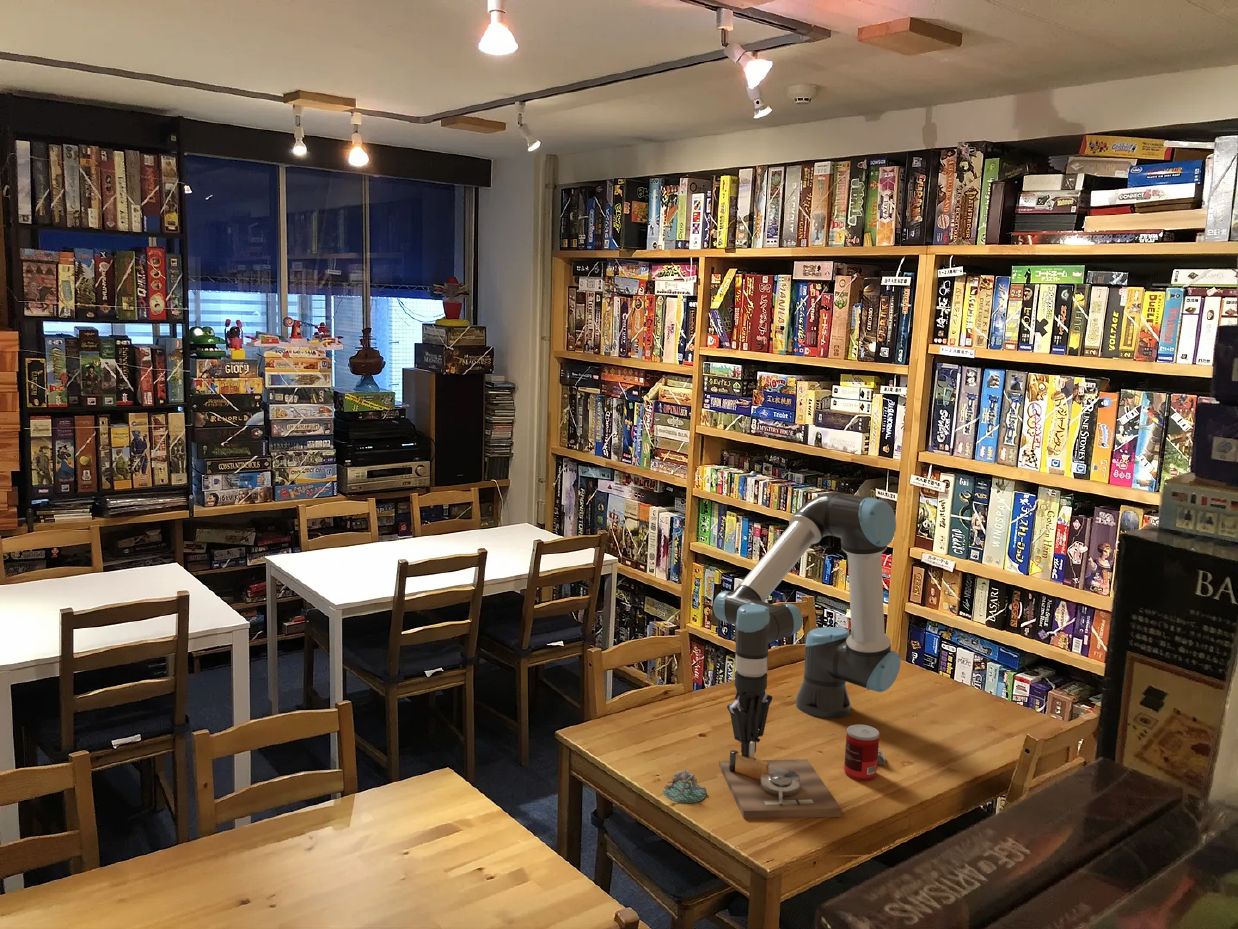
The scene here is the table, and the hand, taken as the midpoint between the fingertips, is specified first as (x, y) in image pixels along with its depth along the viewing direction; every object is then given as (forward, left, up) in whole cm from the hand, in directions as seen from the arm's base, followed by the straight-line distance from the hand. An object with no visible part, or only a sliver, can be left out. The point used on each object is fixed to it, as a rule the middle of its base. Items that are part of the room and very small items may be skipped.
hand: (747, 767), depth 225 cm
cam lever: (+8, +6, -1) cm, 10 cm away
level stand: (+6, +6, -3) cm, 9 cm away
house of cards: (-7, +32, -4) cm, 33 cm away
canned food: (-2, +29, -4) cm, 29 cm away
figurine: (+6, -17, -4) cm, 18 cm away
